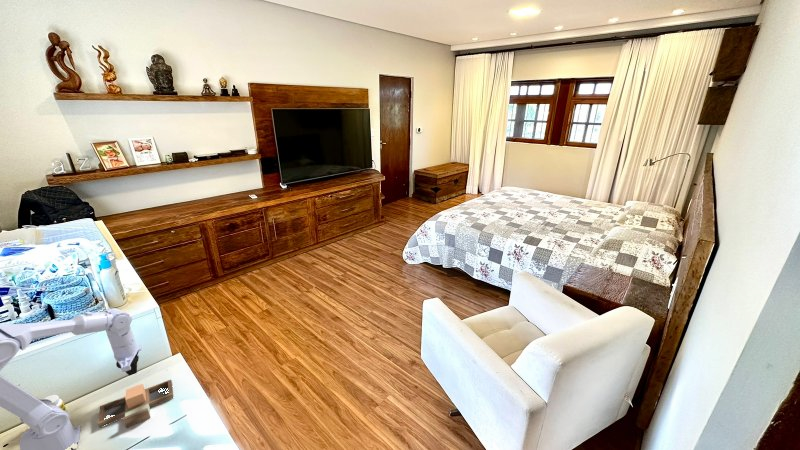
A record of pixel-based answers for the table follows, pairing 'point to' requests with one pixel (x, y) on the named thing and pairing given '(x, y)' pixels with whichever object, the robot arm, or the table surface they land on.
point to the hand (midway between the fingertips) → (133, 371)
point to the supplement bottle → (57, 402)
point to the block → (135, 396)
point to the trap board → (138, 411)
